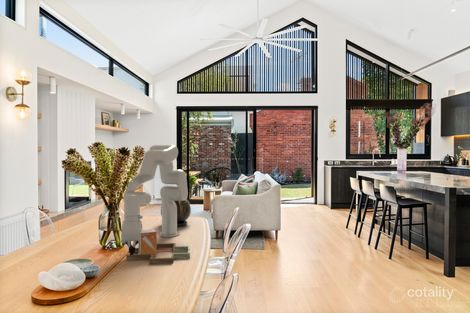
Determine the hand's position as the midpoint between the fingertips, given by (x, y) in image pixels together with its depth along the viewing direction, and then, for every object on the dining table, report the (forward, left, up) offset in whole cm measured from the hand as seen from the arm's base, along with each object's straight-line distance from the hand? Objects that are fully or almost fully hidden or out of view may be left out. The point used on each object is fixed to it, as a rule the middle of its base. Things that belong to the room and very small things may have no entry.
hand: (132, 254), depth 171 cm
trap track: (0, +13, -1) cm, 13 cm away
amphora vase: (-70, +19, -2) cm, 73 cm away
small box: (0, +8, -2) cm, 8 cm away
